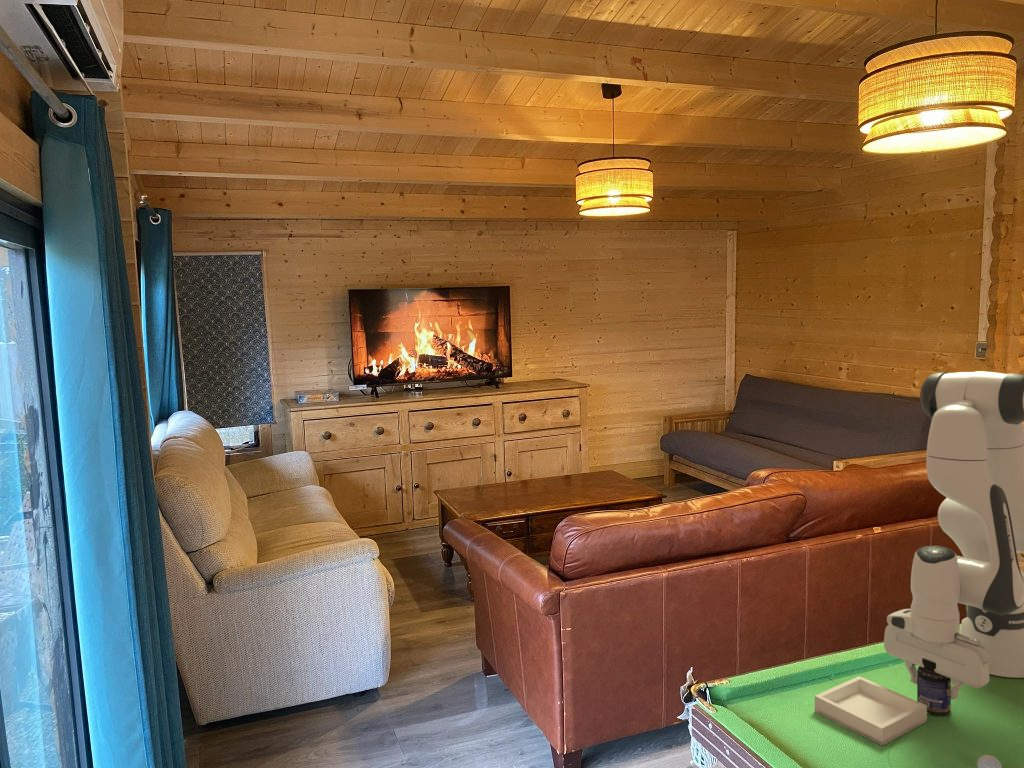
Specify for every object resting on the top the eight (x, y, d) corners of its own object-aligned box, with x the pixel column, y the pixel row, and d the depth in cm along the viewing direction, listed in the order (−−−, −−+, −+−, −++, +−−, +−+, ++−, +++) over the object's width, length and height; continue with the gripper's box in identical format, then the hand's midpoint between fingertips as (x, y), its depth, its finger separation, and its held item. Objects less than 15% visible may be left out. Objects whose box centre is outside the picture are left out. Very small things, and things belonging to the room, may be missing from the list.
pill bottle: (955, 717, 150) (956, 665, 149) (922, 715, 151) (923, 664, 150) (944, 702, 156) (944, 652, 155) (912, 700, 157) (913, 650, 156)
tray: (859, 691, 162) (859, 676, 161) (926, 722, 149) (926, 705, 149) (814, 711, 154) (814, 695, 154) (882, 745, 141) (882, 728, 141)
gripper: (996, 639, 145) (995, 707, 146) (897, 607, 162) (896, 667, 163) (979, 648, 142) (978, 716, 143) (879, 613, 159) (879, 675, 160)
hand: (933, 690), depth 153 cm, fingers closed on pill bottle, 6 cm apart
